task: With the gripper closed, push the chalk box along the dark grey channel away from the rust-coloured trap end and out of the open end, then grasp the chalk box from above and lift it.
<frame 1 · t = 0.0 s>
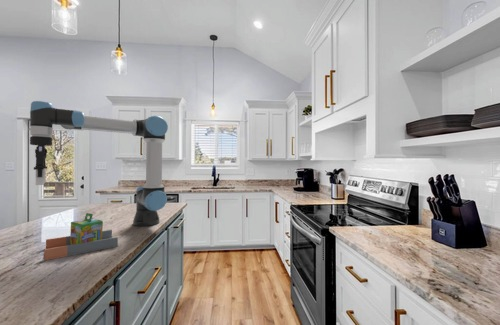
hand: (40, 183, 106), 28 cm above the countertop, tool pointing down, fingers open, 13 cm apart
channel: (82, 247, 105), on the countertop
chalk box: (86, 247, 106), resting in channel
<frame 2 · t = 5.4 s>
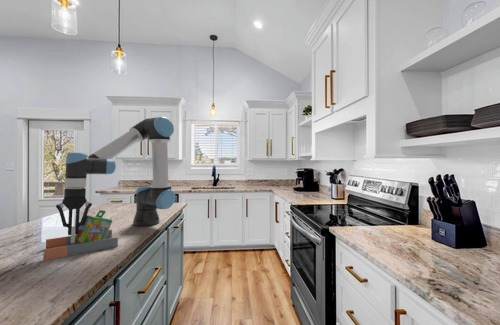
hand: (72, 242, 102), 3 cm above the countertop, tool pointing down, fingers closed
chalk box: (88, 243, 106), point 1 cm above the countertop, touching gripper, hand
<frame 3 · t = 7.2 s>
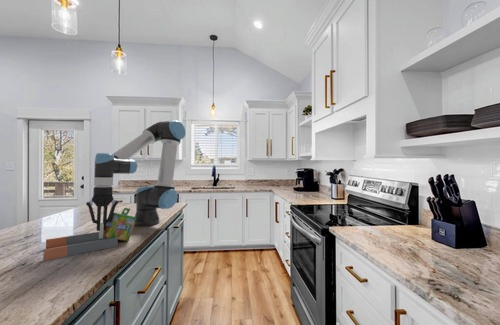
hand: (100, 237, 109), 3 cm above the countertop, tool pointing down, fingers closed
chalk box: (115, 239, 112), point 1 cm above the countertop, touching gripper, hand
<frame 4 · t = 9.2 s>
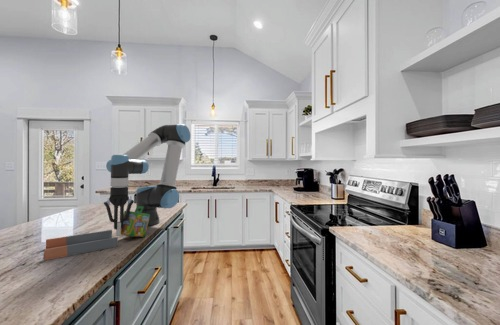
hand: (118, 235, 113), 3 cm above the countertop, tool pointing down, fingers closed
chalk box: (131, 236, 118), point 1 cm above the countertop, touching gripper, hand
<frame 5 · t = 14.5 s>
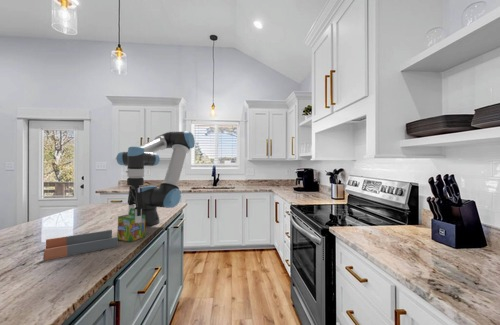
hand: (134, 220, 118), 9 cm above the countertop, tool pointing down, fingers open, 13 cm apart
chalk box: (131, 239, 117), on the countertop
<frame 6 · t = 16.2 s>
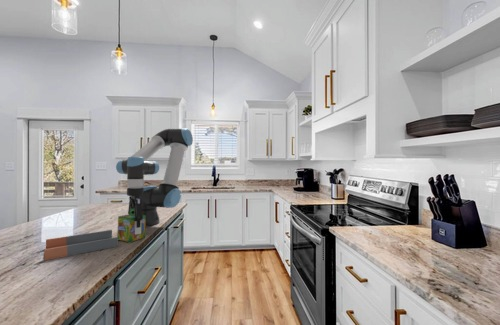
hand: (134, 231, 118), 3 cm above the countertop, tool pointing down, fingers closed on chalk box, 11 cm apart
chalk box: (131, 239, 117), on the countertop, touching gripper
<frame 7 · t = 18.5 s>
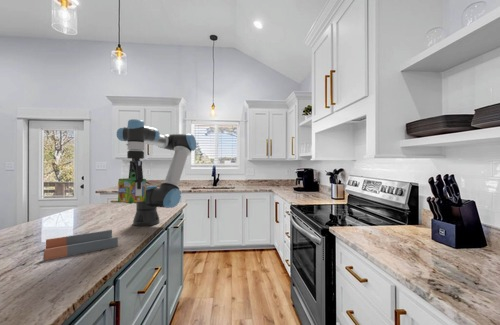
hand: (135, 194, 118), 22 cm above the countertop, tool pointing down, fingers closed on chalk box, 11 cm apart
chalk box: (132, 202, 117), point 18 cm above the countertop, touching gripper
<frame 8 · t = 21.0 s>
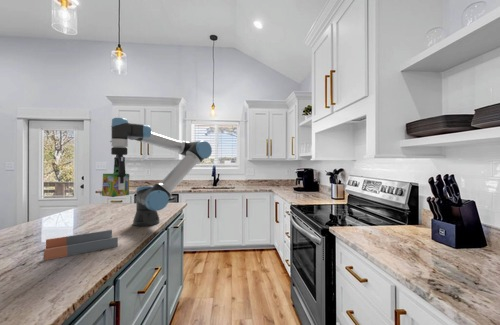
hand: (119, 188, 125), 24 cm above the countertop, tool pointing down, fingers closed on chalk box, 11 cm apart
chalk box: (115, 195, 124), point 20 cm above the countertop, touching gripper
at the end: the gripper is holding chalk box; chalk box inside the target area (5.8 cm from its centre), point 20.2 cm above the countertop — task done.
